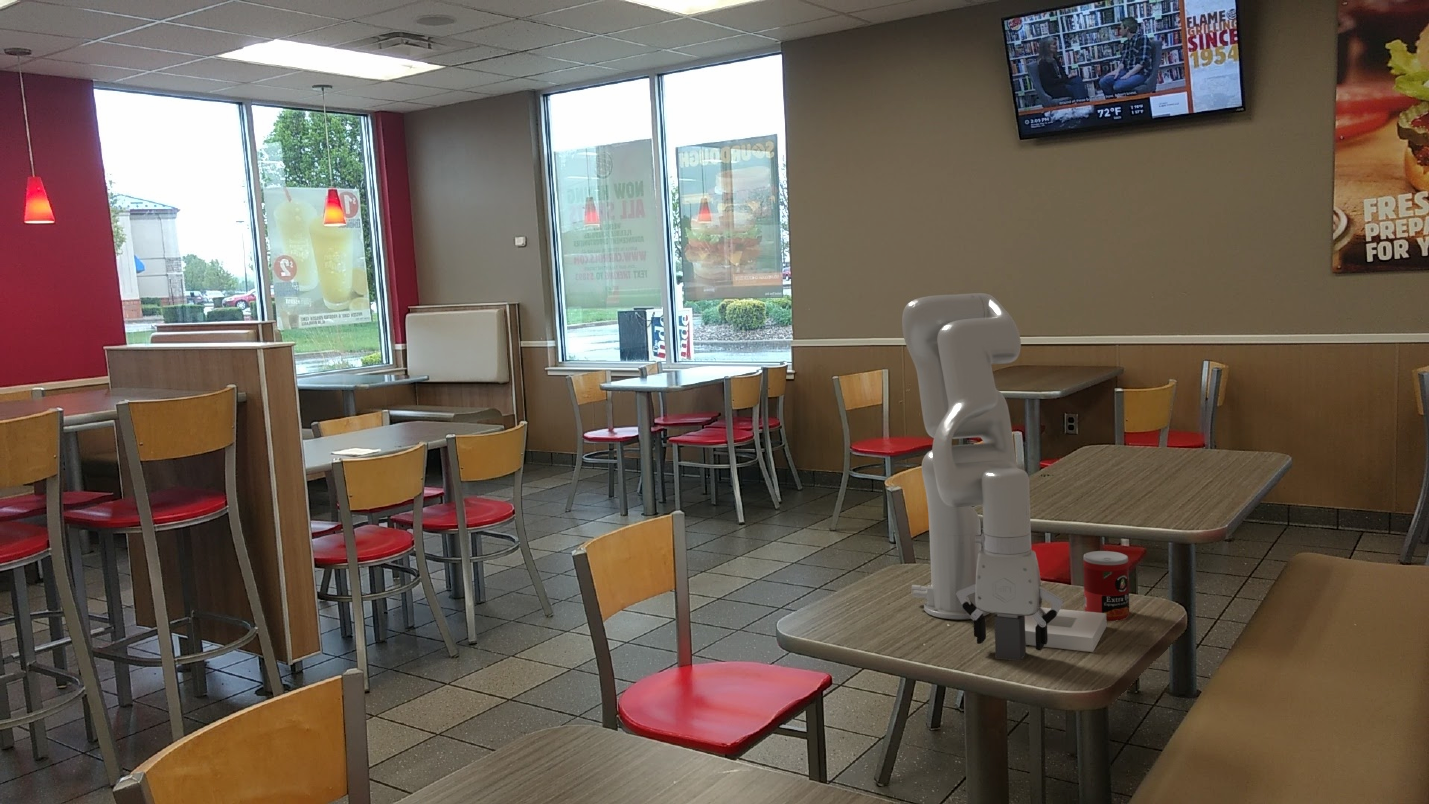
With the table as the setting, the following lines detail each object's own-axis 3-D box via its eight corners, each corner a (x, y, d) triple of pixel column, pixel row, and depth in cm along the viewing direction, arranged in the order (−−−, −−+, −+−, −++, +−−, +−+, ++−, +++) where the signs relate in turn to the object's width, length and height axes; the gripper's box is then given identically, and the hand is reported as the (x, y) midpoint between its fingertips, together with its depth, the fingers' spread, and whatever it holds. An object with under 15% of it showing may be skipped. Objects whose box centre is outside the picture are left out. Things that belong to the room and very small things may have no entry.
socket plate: (1007, 642, 178) (1006, 623, 178) (1026, 618, 190) (1025, 600, 190) (1092, 652, 171) (1092, 632, 171) (1106, 626, 183) (1106, 607, 183)
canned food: (1107, 624, 185) (1105, 563, 184) (1075, 612, 192) (1073, 554, 191) (1139, 616, 188) (1138, 557, 187) (1106, 605, 195) (1105, 548, 194)
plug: (995, 658, 171) (994, 612, 171) (1001, 650, 175) (1000, 605, 174) (1020, 661, 169) (1018, 614, 169) (1025, 653, 173) (1024, 607, 172)
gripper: (948, 545, 171) (952, 646, 173) (1057, 552, 163) (1059, 658, 164) (961, 535, 178) (965, 632, 179) (1066, 541, 169) (1069, 643, 171)
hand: (1010, 644), depth 172 cm, fingers open, 9 cm apart
